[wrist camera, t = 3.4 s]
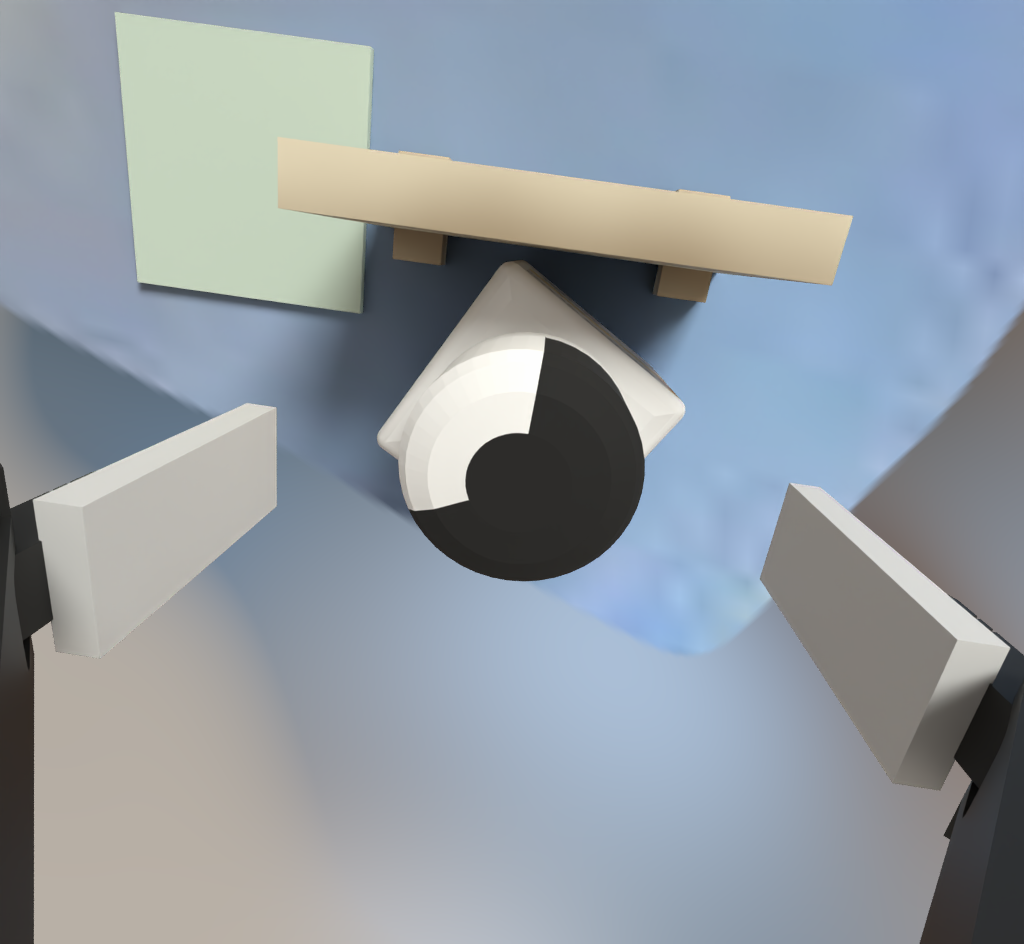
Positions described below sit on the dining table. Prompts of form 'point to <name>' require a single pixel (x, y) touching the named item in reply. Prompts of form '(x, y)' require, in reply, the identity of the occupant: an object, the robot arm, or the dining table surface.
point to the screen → (560, 216)
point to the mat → (238, 158)
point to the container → (528, 433)
